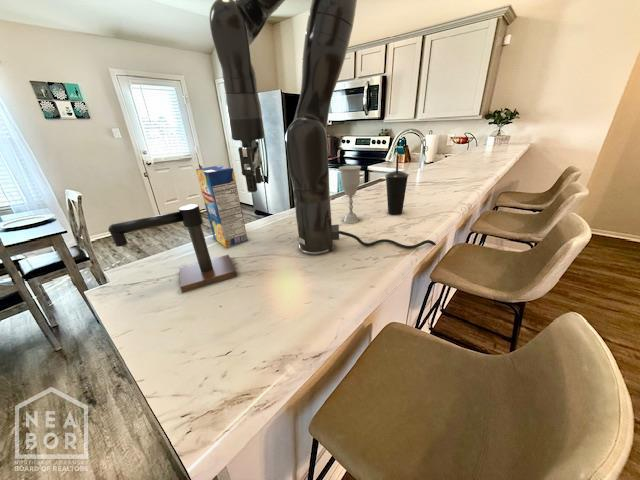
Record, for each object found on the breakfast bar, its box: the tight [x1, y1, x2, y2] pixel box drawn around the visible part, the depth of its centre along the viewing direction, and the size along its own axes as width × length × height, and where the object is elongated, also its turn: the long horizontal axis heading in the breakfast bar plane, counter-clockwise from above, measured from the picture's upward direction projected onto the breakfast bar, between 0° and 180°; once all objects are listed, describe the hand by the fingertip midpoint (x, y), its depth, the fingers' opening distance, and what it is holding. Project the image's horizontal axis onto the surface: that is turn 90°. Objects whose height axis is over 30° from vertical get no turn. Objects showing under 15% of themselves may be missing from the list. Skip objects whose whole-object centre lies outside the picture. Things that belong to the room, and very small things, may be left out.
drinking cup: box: [384, 154, 410, 216], centre depth 90 cm, size 8×8×20 cm
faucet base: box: [179, 224, 238, 293], centre depth 62 cm, size 12×10×13 cm
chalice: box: [338, 165, 362, 224], centre depth 87 cm, size 7×7×18 cm
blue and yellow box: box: [195, 165, 249, 248], centre depth 79 cm, size 7×11×22 cm, turn 40°
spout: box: [107, 204, 204, 248], centre depth 56 cm, size 17×4×5 cm, turn 118°
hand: (255, 187), depth 67 cm, fingers open, 8 cm apart
